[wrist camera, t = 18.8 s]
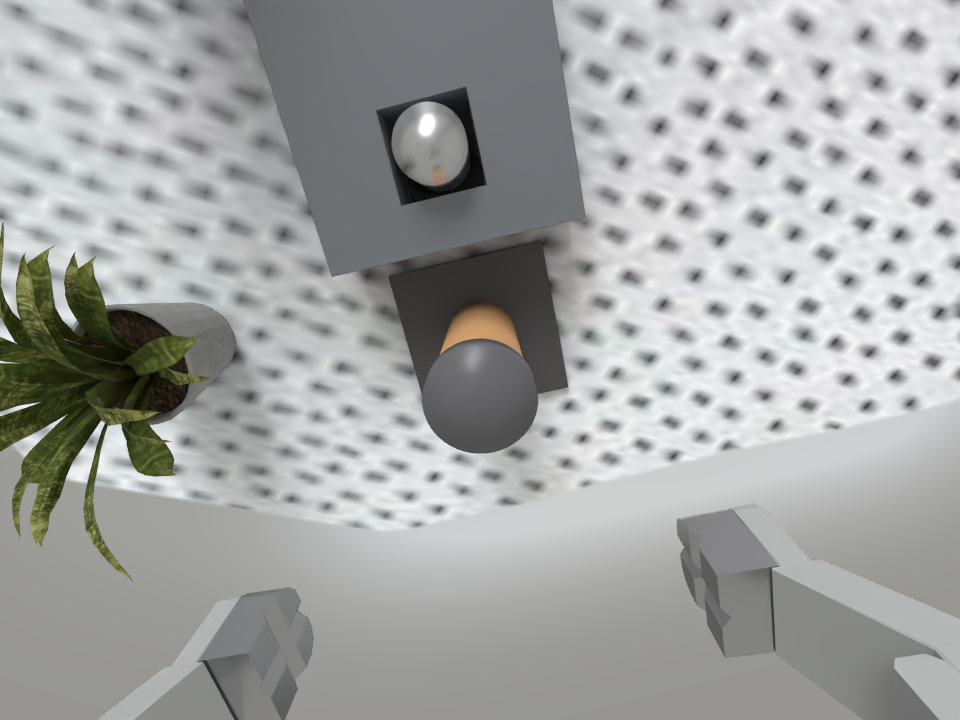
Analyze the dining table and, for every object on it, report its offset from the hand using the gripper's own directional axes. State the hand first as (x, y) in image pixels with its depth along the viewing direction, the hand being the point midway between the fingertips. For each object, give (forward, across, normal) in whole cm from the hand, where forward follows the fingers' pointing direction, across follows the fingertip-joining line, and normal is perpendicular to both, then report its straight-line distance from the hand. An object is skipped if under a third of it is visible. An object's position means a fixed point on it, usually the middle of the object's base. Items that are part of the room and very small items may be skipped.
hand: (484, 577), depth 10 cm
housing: (+22, 0, -17) cm, 28 cm away
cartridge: (+22, 0, 0) cm, 22 cm away
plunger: (+22, 0, -11) cm, 24 cm away
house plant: (+22, +18, -3) cm, 29 cm away
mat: (+22, 0, 0) cm, 22 cm away
